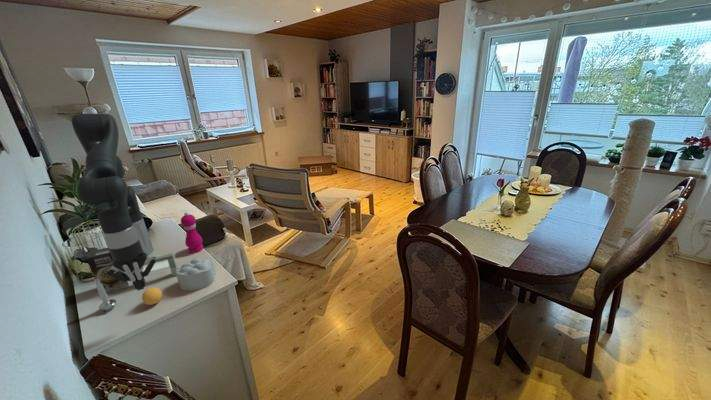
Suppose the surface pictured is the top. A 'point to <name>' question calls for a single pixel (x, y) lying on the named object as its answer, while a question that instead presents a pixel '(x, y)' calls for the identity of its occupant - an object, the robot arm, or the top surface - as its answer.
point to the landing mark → (159, 265)
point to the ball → (152, 296)
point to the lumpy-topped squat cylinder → (196, 274)
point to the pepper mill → (191, 233)
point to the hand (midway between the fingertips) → (141, 288)
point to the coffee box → (104, 269)
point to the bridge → (170, 260)
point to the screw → (104, 297)
